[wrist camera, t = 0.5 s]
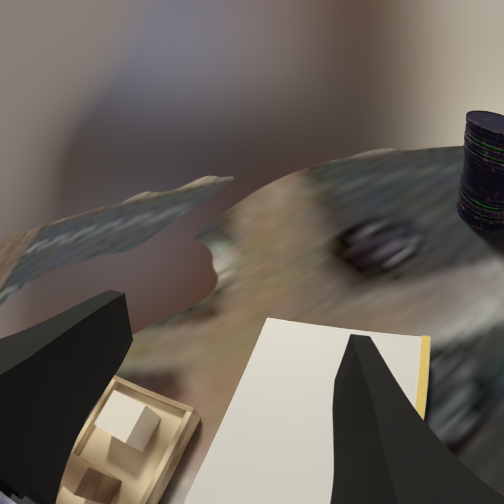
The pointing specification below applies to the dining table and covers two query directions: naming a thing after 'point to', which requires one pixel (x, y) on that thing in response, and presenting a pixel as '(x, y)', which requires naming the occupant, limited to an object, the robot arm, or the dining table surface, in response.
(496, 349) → the dining table surface
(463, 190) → the storage jar
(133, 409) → the off-white square block
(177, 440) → the tan open box
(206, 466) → the dock
